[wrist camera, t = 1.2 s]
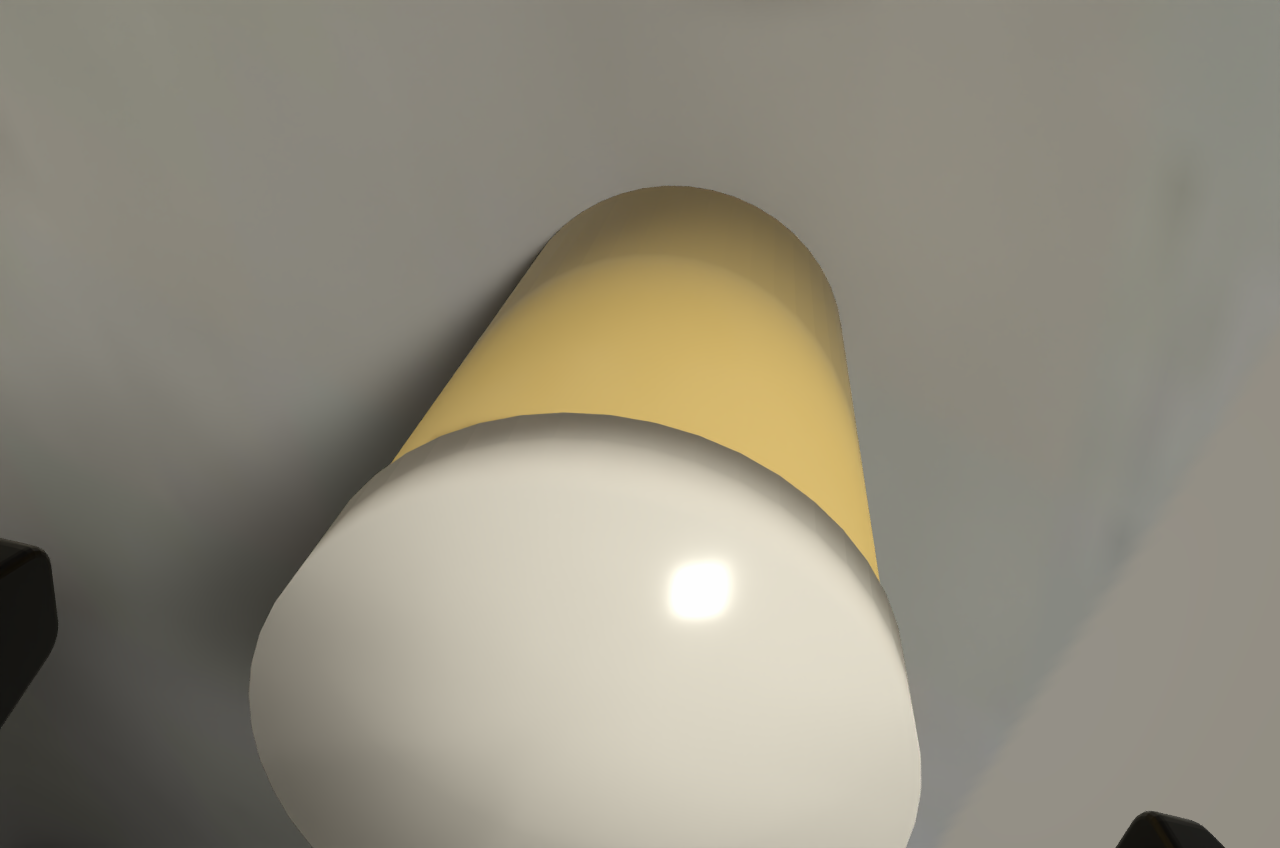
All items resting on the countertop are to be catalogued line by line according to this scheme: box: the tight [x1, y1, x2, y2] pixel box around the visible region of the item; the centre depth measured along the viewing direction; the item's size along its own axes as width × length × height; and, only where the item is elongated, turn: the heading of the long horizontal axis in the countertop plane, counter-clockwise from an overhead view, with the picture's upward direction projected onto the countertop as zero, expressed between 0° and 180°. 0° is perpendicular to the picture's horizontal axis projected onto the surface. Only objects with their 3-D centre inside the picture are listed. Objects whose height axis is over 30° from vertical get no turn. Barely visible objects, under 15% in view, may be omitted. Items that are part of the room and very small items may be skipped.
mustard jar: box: [249, 186, 921, 848], centre depth 11 cm, size 5×5×8 cm
